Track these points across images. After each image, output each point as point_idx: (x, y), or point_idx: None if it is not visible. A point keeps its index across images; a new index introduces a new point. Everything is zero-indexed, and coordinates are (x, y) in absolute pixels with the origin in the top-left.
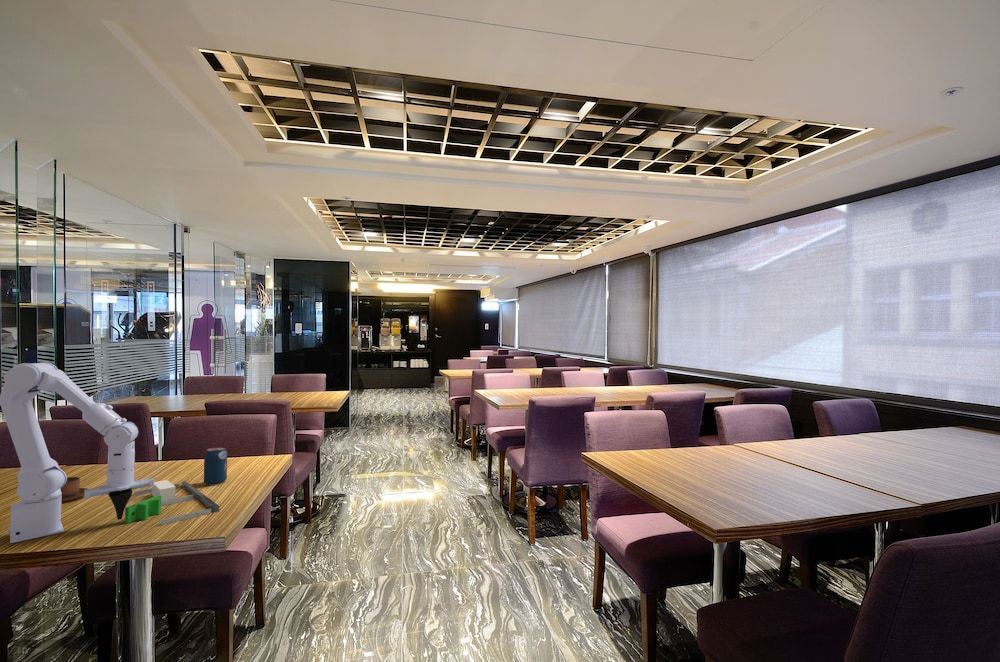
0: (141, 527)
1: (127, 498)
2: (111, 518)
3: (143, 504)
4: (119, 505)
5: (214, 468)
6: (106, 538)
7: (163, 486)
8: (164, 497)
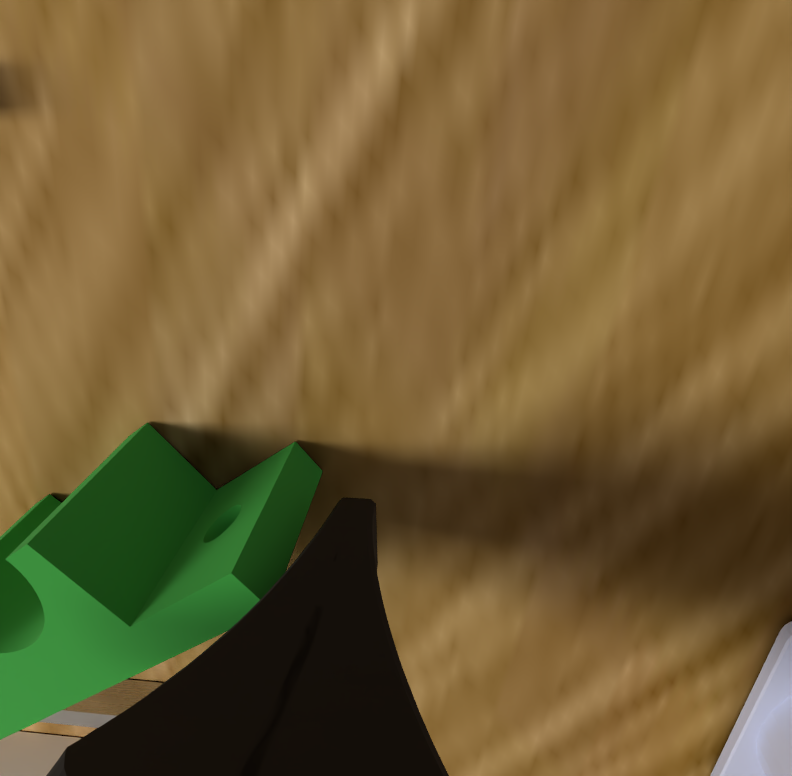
0: (172, 173)
1: (170, 712)
2: None
3: (60, 576)
4: (331, 634)
5: None
6: (581, 25)
7: None
8: (29, 772)
